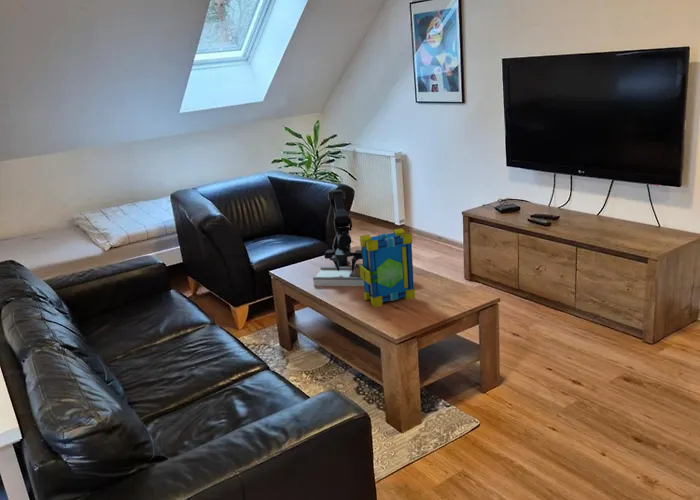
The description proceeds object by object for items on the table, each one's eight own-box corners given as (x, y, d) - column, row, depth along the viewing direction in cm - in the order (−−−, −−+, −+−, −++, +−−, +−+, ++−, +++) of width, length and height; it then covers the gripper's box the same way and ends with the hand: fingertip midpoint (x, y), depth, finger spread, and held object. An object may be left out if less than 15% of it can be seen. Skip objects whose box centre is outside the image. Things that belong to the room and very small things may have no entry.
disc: (356, 267, 312) (358, 261, 311) (376, 277, 311) (378, 271, 309) (350, 274, 302) (352, 268, 300) (370, 284, 301) (373, 278, 299)
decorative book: (360, 299, 285) (355, 235, 276) (407, 288, 293) (403, 226, 283) (373, 310, 272) (368, 243, 263) (421, 299, 280) (418, 233, 271)
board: (322, 274, 320) (321, 264, 318) (382, 275, 312) (381, 264, 311) (313, 285, 306) (312, 275, 304) (377, 286, 298) (376, 275, 297)
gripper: (320, 245, 298) (322, 276, 303) (358, 245, 293) (360, 277, 298) (326, 238, 308) (328, 268, 313) (364, 238, 304) (365, 269, 308)
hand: (345, 271), depth 308 cm, fingers open, 7 cm apart
